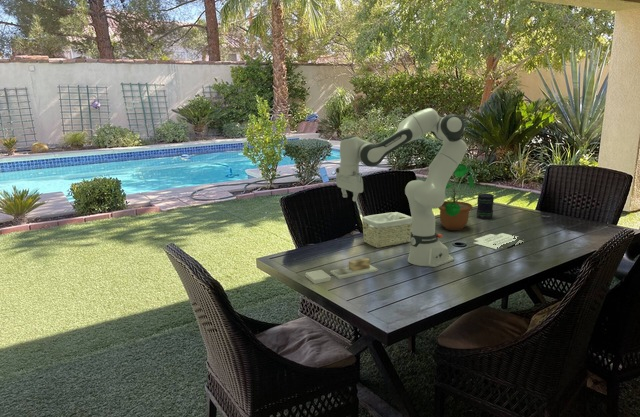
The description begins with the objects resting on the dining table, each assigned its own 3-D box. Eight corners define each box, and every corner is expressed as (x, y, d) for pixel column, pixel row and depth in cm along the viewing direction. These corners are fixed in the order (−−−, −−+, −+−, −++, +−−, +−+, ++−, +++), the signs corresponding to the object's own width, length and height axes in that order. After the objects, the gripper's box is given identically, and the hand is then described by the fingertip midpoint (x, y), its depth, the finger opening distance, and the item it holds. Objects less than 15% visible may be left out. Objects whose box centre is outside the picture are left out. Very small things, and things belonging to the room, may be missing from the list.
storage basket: (395, 235, 272) (396, 210, 268) (413, 242, 258) (414, 216, 254) (360, 242, 261) (360, 216, 258) (377, 250, 247) (377, 223, 244)
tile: (321, 269, 216) (305, 272, 213) (330, 276, 207) (314, 280, 204) (321, 274, 217) (305, 277, 213) (330, 281, 208) (314, 284, 205)
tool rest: (367, 265, 225) (367, 263, 225) (377, 271, 217) (377, 269, 217) (330, 272, 217) (330, 270, 217) (339, 279, 209) (339, 277, 209)
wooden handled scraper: (365, 265, 222) (365, 257, 221) (371, 268, 218) (371, 260, 217) (334, 271, 215) (333, 263, 214) (339, 275, 211) (338, 266, 210)
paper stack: (467, 243, 256) (467, 236, 255) (496, 235, 273) (496, 228, 272) (501, 252, 240) (501, 245, 240) (530, 243, 257) (530, 236, 256)
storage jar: (491, 216, 308) (493, 193, 304) (493, 220, 298) (494, 197, 295) (475, 215, 310) (476, 193, 307) (477, 219, 301) (478, 196, 297)
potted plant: (441, 219, 304) (443, 158, 294) (483, 227, 283) (486, 162, 274) (412, 228, 283) (414, 163, 274) (455, 238, 263) (458, 168, 254)
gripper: (366, 172, 214) (366, 202, 217) (345, 167, 232) (345, 194, 235) (354, 174, 211) (354, 204, 214) (333, 168, 229) (334, 196, 232)
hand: (349, 199), depth 225 cm, fingers open, 8 cm apart
